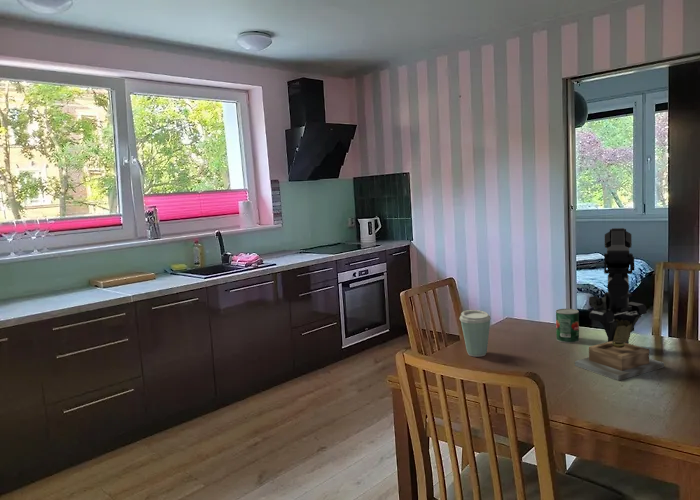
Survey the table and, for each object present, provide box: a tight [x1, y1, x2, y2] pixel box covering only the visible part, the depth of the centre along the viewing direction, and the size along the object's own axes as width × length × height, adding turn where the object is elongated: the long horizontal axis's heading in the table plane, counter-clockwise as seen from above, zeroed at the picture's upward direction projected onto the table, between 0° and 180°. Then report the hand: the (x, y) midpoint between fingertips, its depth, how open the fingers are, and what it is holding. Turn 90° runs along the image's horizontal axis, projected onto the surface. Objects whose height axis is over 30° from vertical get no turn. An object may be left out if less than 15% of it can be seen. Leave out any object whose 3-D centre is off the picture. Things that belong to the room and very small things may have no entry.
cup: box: [612, 319, 632, 348], centre depth 167 cm, size 8×7×8 cm
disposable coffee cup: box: [458, 309, 492, 358], centre depth 187 cm, size 11×11×15 cm
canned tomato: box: [555, 308, 580, 344], centre depth 197 cm, size 8×8×11 cm
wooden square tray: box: [574, 341, 665, 382], centre depth 167 cm, size 20×16×6 cm
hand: (618, 338), depth 167 cm, fingers closed on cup, 6 cm apart
